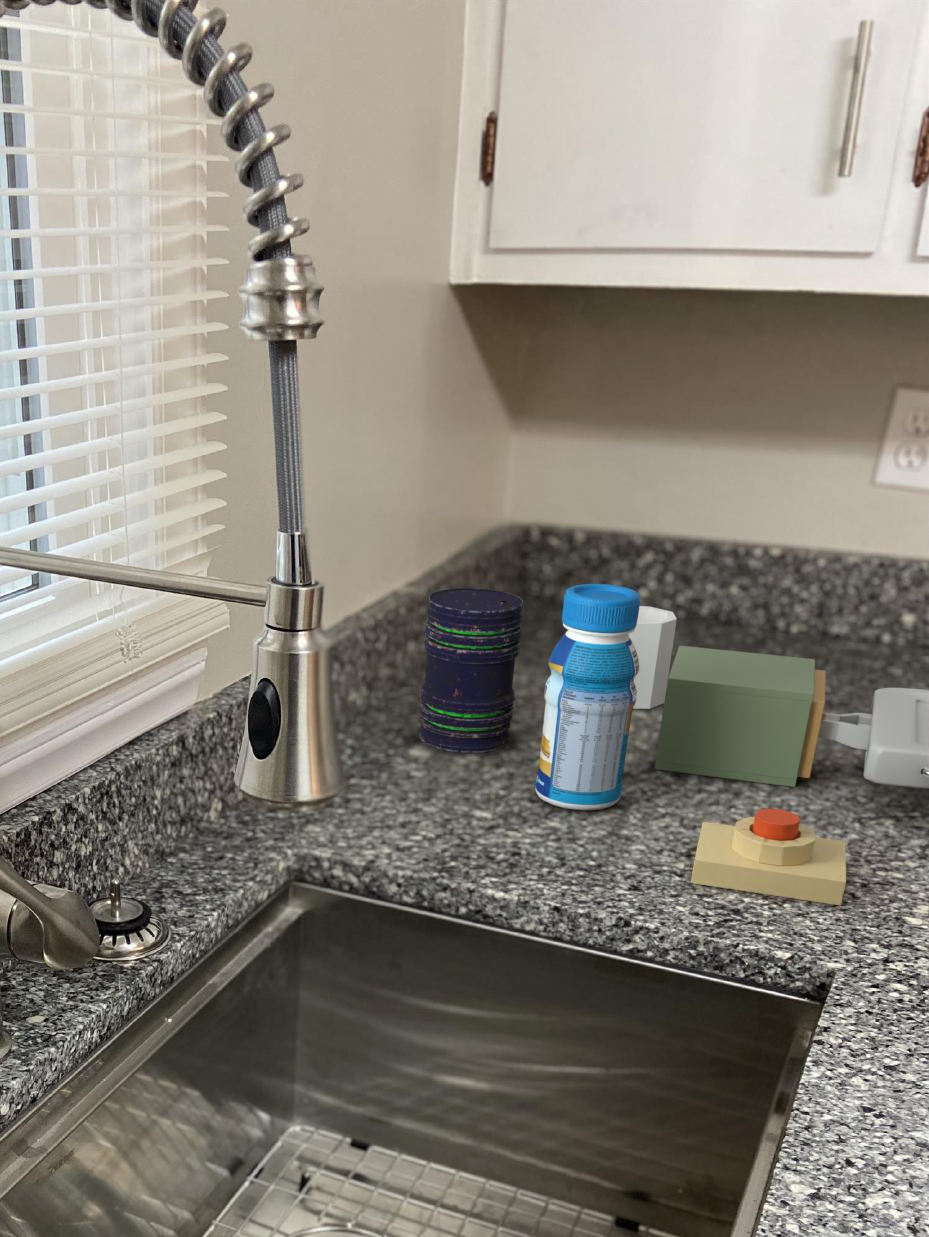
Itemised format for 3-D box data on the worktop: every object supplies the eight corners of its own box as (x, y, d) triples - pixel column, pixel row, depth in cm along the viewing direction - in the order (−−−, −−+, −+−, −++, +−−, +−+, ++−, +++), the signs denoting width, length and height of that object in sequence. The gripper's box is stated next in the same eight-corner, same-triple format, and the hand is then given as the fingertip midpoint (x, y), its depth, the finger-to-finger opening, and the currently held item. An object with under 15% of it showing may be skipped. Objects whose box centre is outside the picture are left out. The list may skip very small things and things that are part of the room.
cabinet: (797, 747, 154) (815, 659, 150) (795, 787, 144) (813, 693, 139) (666, 731, 158) (679, 645, 154) (654, 769, 148) (667, 678, 143)
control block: (840, 864, 127) (849, 822, 125) (841, 905, 120) (850, 861, 118) (699, 843, 131) (705, 802, 129) (690, 883, 123) (697, 840, 121)
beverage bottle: (577, 820, 136) (604, 607, 126) (514, 791, 142) (536, 587, 133) (640, 802, 140) (670, 595, 131) (576, 775, 146) (601, 576, 137)
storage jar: (409, 747, 153) (419, 606, 146) (426, 718, 161) (436, 584, 155) (504, 757, 150) (518, 615, 144) (516, 728, 159) (530, 592, 152)
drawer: (823, 743, 152) (838, 671, 149) (822, 780, 143) (838, 704, 139) (688, 727, 157) (700, 657, 153) (679, 762, 147) (691, 687, 144)
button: (796, 831, 124) (800, 812, 124) (795, 846, 121) (799, 827, 121) (753, 824, 126) (756, 806, 125) (751, 840, 123) (754, 821, 122)
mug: (671, 693, 171) (684, 610, 166) (655, 713, 164) (668, 628, 159) (571, 679, 175) (580, 598, 171) (551, 698, 168) (561, 614, 164)
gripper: (966, 813, 132) (806, 789, 137) (960, 744, 149) (817, 725, 154) (984, 748, 129) (819, 725, 134) (975, 685, 146) (830, 667, 151)
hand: (818, 724), depth 144 cm, fingers closed, pressing on drawer
